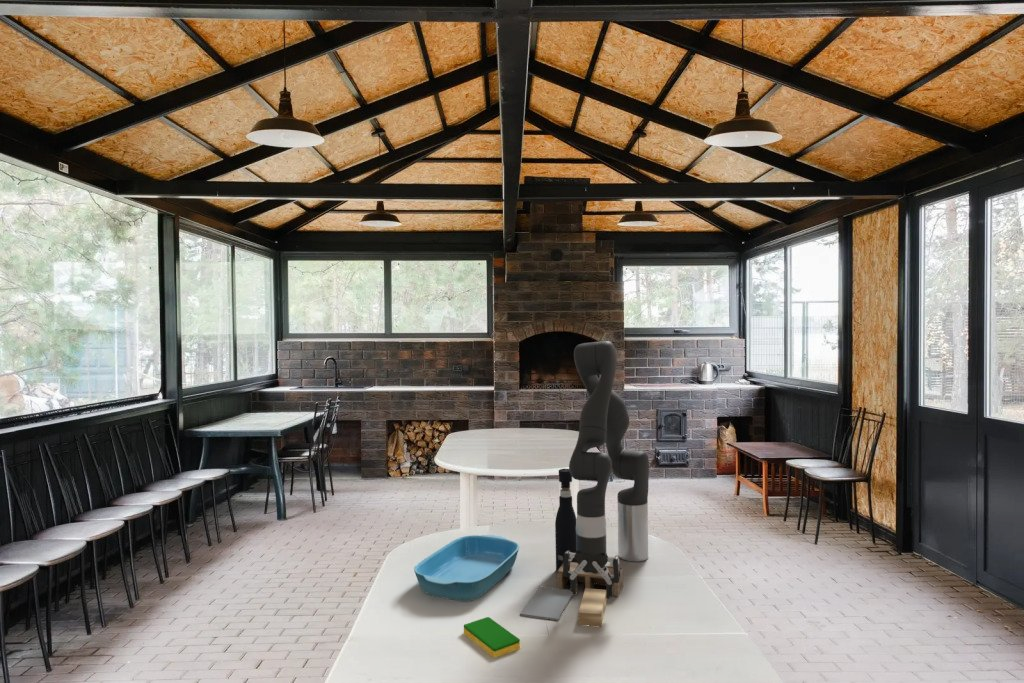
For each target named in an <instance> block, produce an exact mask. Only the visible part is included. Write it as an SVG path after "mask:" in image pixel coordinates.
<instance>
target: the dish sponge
mask: <svg viewBox="0 0 1024 683" xmlns="http://www.w3.org/2000/svg"><path fill="white" fill-rule="evenodd" d="M463 634H464V636H466V637H468V639H470V640H471V641H472V642H474V643H475V644H476V645H477V646H478V647H480V648H481V649H482V650H483V651H484V652H486V653H487V654H488V655H490V656H491V657H492V658H494V657H495V658H499V657H502V656H504V655H507V654H509V653H511V652H514V651H517V650H520V649H521V642H520V641H521V640H520V638H518V637H517V636H516V635H514V634H513V633H511V631H509V630H508V629H506V628H505V627H504V626H502V625H501V624H499V623H497V622H496V621H495V620H493V618H490V616H487V617H484V618H480V619H478V620H474V621H471V622H469V623H468V622H467V623H465V624H464V625H463ZM506 653H507V654H506ZM498 656H499V657H498Z"/></svg>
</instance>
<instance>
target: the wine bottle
mask: <svg viewBox="0 0 1024 683" xmlns="http://www.w3.org/2000/svg"><path fill="white" fill-rule="evenodd" d="M572 481H573V477H572V476H571V474H570V471H569V468H560V469H558V482H559V483H560V486H561V487H560V488H561V489H560V491H559V497H558V498H559V500H558V502H559V503H558V504H559V505H558V508H557V513H556V515H555V523H554V524H555V526H554V528H555V534H554V535H555V571H556V573H557V574H558V570H559V568H560V567H561V565H562V564H563V560H564V554H565V552H566V551H567V550H569V551H570V552H572V553H576V519H577V514H576V512H575V509H574V507H573V495H572V490H571V489H570V488H571V483H572ZM570 562H575V563H577V561H576V560H575V558H573V559H572V561H570Z"/></svg>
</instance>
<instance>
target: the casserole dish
mask: <svg viewBox="0 0 1024 683" xmlns="http://www.w3.org/2000/svg"><path fill="white" fill-rule="evenodd" d="M519 549H520V544H519V543H518V542H517V541H514V540H511V539H508V538H506V537H504V536H501V535H493V534H492V535H491V534H483V535H477V534H476V535H475V534H473V535H465V536H461V537H459V538H456V539H454V540H452V541H450V542H449V543H447V544H444V545H443V546H442V547H441V548H439V549H438V550H436V551H434V552H433V553H432V554H430V555H429V556H427V557H425V558H424V559H422V560H421V561H420V562H418V563H417V564H416V565H414V568H413V570H414V574H415V577H416V580H417V582H418V584H419V586H420V588H421V590H422V592H425V594H427V595H429V594H430V596H432V595H433V596H434V597H437V596H438V598H442V597H443V599H447V598H448V599H449V600H455V601H459V600H460V601H461V602H462V601H463V602H469V601H474V600H476V599H478V598H479V597H481V596H483V595H484V594H486V593H487V592H488V591H489V590H491V588H492V587H494V586H495V585H496V584H497V583H498V582H499V581H500V580H501V579H502V578H503V577H505V576H506V575H507V574H508V573H509V572H510V571H511V570H512V568H513V567H514V565H515V562H516V561H517V560H516V559H517V557H518V552H519ZM468 600H469V601H468Z"/></svg>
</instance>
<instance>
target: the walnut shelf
mask: <svg viewBox="0 0 1024 683" xmlns="http://www.w3.org/2000/svg"><path fill="white" fill-rule="evenodd" d="M578 565H579V564H578V563H575V562H570V571H572V572H573V571H574V570H575V569H576V568H577V566H578ZM605 566H606V567H607V568H608V570H609V572H610V574H611V575H612V577H613V576H614V571H613V566H611V565H610V566H609V565H605ZM620 575H621V578H620V580H619V582H618V583H613V597H614V596H617V597H616V598H619V596H620V593H621V591H622V588H623V587H624V586H623V567H620ZM576 577H577V583H581V582H582V584H584V586H585V587H584V589H585V588H589V589H594V586H595V585H600V586H606V584H607V582H606V581H605V579H604V578H602V576H601V575H600V574H599V573H597V574H595V573H592V572H588V573H587V572H585V571H583V570H581V571H580V573H579V574H578V575H577V576H576ZM568 582H570V578H568V577H564V576H563V564H562V565H561V567H560V568H559V570H558V573H557V588H558V589H565V586H566V584H567V583H568Z"/></svg>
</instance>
